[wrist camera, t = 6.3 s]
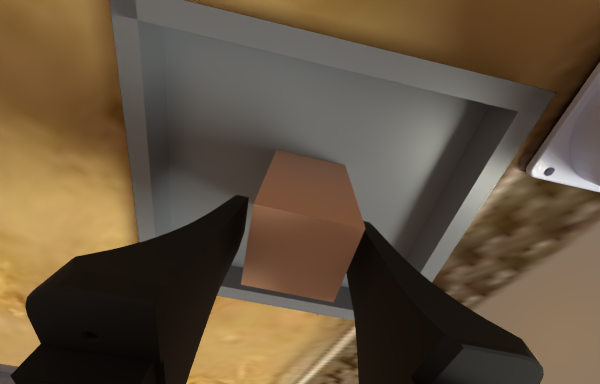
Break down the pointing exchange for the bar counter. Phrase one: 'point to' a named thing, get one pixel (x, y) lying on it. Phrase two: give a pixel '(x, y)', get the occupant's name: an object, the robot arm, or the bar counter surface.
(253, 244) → the terracotta block
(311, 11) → the bar counter surface
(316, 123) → the charcoal tray
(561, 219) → the bar counter surface
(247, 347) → the bar counter surface
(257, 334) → the bar counter surface
